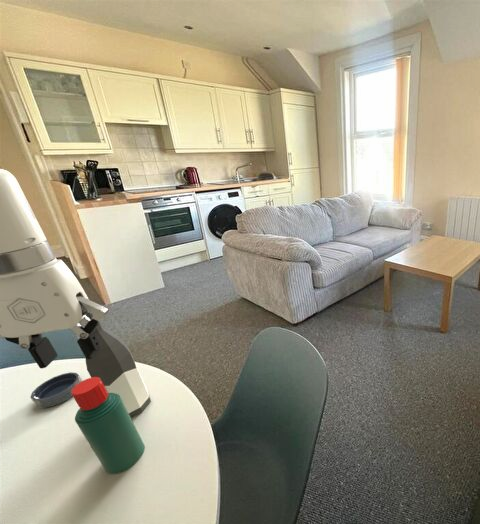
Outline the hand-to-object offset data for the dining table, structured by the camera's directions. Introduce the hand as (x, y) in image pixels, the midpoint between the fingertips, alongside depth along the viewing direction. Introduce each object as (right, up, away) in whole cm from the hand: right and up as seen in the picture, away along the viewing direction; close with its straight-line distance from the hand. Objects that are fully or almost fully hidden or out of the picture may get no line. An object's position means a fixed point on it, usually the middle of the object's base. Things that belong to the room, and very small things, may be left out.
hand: (71, 357), depth 48 cm
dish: (-29, -18, +26) cm, 43 cm away
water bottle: (+1, -24, +10) cm, 26 cm away
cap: (0, -9, +4) cm, 10 cm away
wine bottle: (-6, -19, +22) cm, 30 cm away
